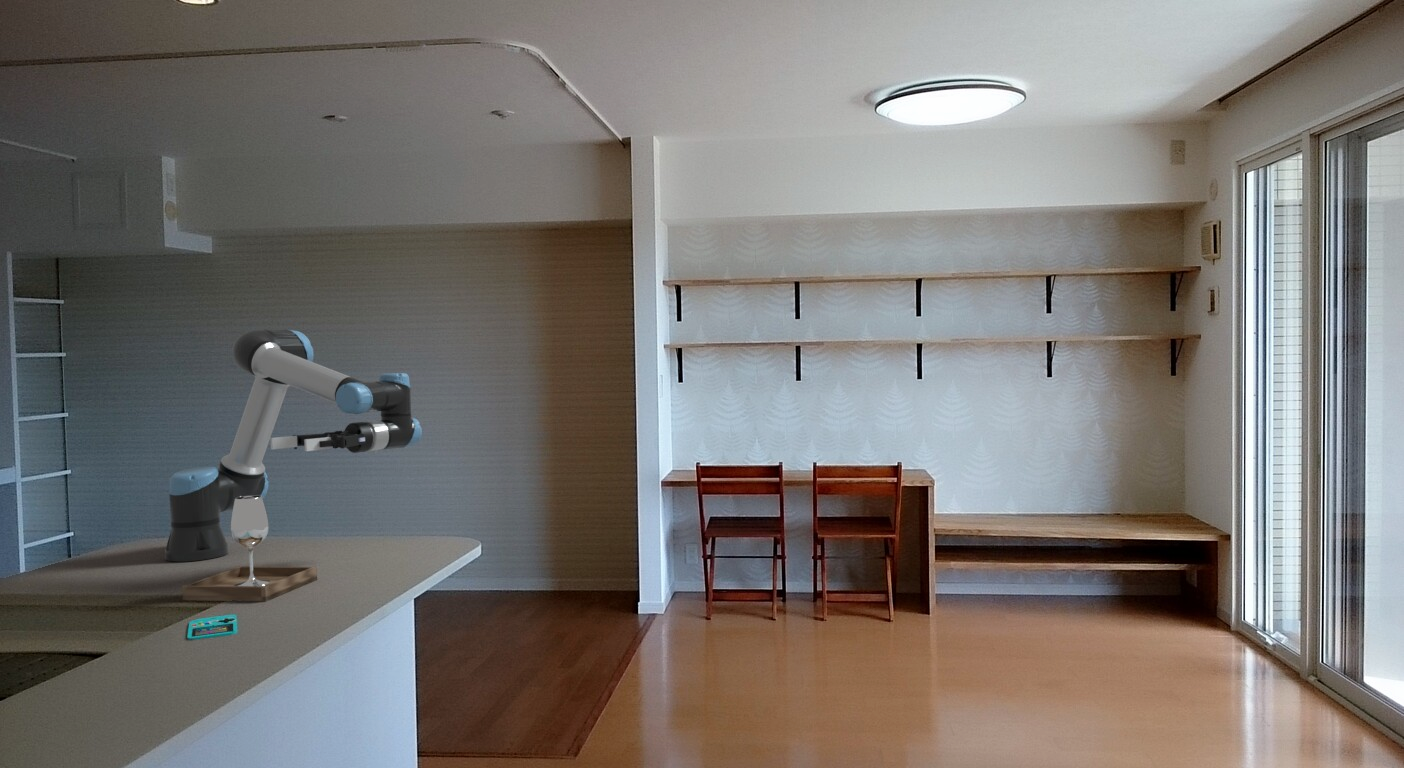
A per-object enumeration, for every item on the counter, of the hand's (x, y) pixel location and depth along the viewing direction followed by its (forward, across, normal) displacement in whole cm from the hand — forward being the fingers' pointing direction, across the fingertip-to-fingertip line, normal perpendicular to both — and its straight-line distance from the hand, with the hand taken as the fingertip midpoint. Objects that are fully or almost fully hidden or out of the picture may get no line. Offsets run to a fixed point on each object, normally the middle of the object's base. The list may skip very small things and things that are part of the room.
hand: (288, 444), depth 229 cm
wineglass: (+10, 0, -31) cm, 33 cm away
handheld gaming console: (+32, -23, -33) cm, 51 cm away
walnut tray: (+10, 0, -32) cm, 34 cm away
